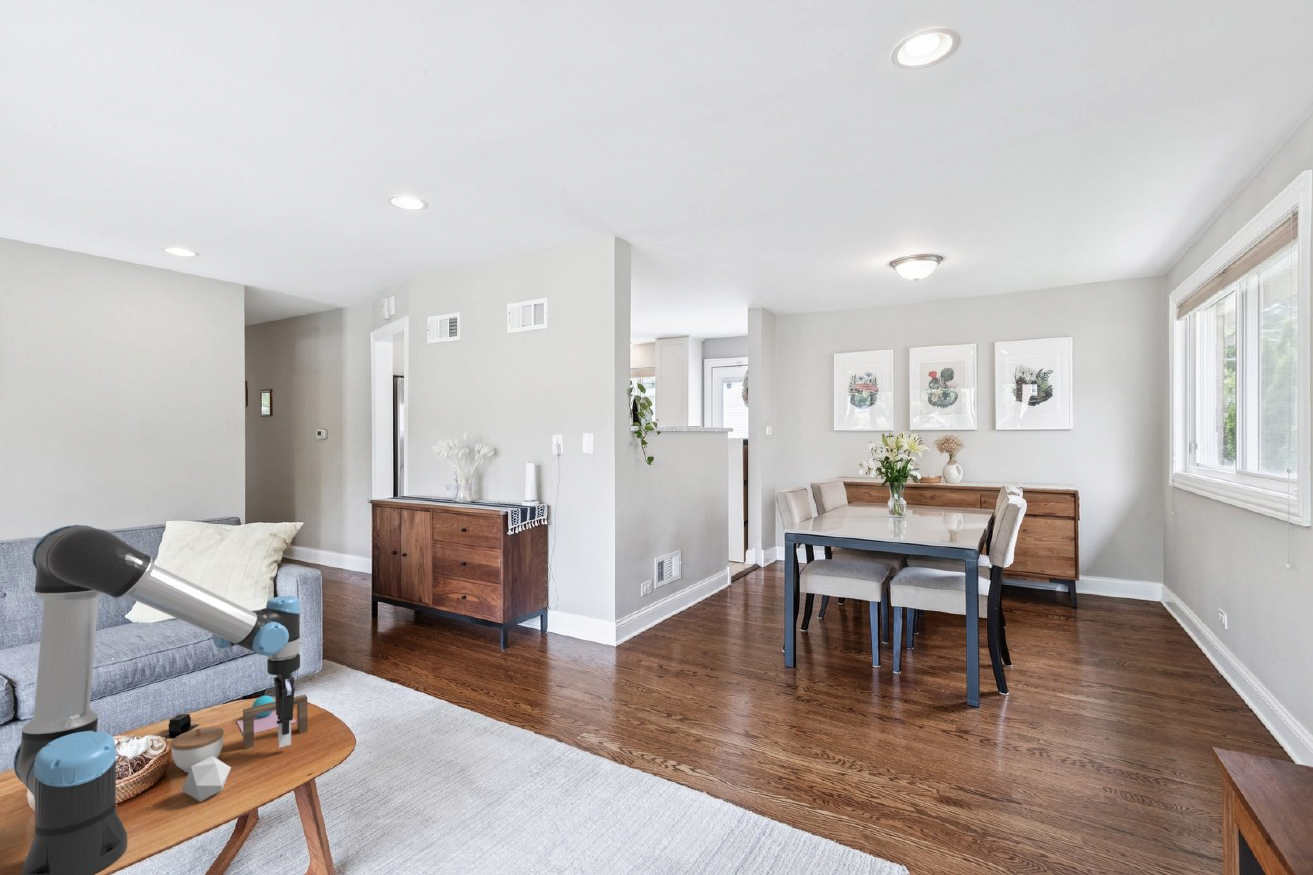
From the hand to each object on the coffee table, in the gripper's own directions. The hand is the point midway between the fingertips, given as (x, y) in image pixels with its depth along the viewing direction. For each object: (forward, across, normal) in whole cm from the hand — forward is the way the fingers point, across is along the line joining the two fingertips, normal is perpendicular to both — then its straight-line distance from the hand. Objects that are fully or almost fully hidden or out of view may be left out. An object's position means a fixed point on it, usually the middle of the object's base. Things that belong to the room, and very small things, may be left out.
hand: (284, 744), depth 167 cm
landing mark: (+2, +25, 0) cm, 25 cm away
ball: (-1, +30, 0) cm, 30 cm away
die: (+2, -11, +18) cm, 21 cm away
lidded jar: (+2, +7, +18) cm, 19 cm away
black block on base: (+3, +35, +20) cm, 41 cm away
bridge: (+2, +11, 0) cm, 11 cm away
